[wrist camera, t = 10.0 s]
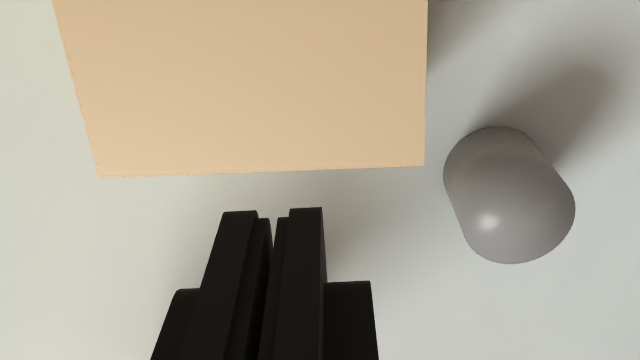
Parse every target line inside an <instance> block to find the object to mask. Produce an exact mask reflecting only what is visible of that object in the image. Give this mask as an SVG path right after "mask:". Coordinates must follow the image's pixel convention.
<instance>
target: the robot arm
mask: <svg viewBox="0 0 640 360" xmlns="http://www.w3.org/2000/svg"><path fill="white" fill-rule="evenodd" d="M150 360H379V357H378V348H377V339H376V329H375V320H374V311H373V301H372V292H371V284H370V281H351V282H328V283H327V271H326V257H325V242H324V228H323V215H322V207H313V208H293V209H290V212H289V217H279V218H278V220H277V227H276V234H275V241H274V248H273V242H272V234H271V226H270V220H269V218H258V213H257V211H256V210H252V211H232V212H224V213H223V215H222V218H221V221H220V225H219V228H218V231H217V234H216V238H215V241H214V244H213V247H212V251H211V254H210V257H209V260H208V264H207V267H206V270H205V273H204V277H203V280H202V283H201V286H200V288H193V289H179V290H177V291H176V293H175V295H174V296H173V299H172V302H171V304H170V307H169V310H168V312H167V315H166V318H165V321H164V323H163V326H162V329H161V332H160V334H159V337H158V340H157V343H156V345H155V348H154V351H153V354H152V356H151V359H150Z"/></svg>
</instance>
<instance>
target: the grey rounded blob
mask: <svg viewBox="0 0 640 360" xmlns="http://www.w3.org/2000/svg"><path fill="white" fill-rule="evenodd" d="M443 181H444V185H445V188H446V191H447V193H448V196H449V199H450V201H451V204H452V206H453V209H454V211H455V214H456V216H457V219H458V221H459V224H460V226H461V229H462V232H463V234H464V237H465V239H466V241H467V243H468V244H469V246H470V247H471V248H472V249H473V250H474V251H475V252H476V253H477V254H478V255H480V256H481V257H483V258H485V259H487V260H490V261H493V262H496V263H502V264H518V263H524V262H529V261H532V260H535V259H537V258H539V257H542V256H543V255H545V254H547V253H549V252H550V251H551V250H553V249H554V248H555V247H556V246H558V245H559V244H560V243H561V242H562V240H563V239H564V238H565V237H566V235H567V234H568V232H569V230H570V229H571V226H572V224H573V221H574V217H575V201H574V197H573V195H572V192H571V190H570V189H569V187H568V186H567V184H566V183H565V182H564V181H563V179H562V178H561V177H560V176H559V174H558V173H557V172H556V171H555V169H554V168H553V167H552V165H551V164H550V163H549V162H548V160H547V159H546V158H545V157H544V155H543V154H542V153H541V151H540V150H539V149H538V148H537V146H536V145H535V144H534V143H533V141H532V140H531V139H530V138H529V137H528V136H526V135H525V134H523V133H522V132H520V131H518V130H515V129H512V128H508V127H488V128H484V129H480V130H478V131H475V132H473V133H471V134H469V135H468V136H466V137H465V138H463V139H462V140H461V141H460V142H458V144H457V145H456V146H455V147H454V148H453V149H452V151H451V152H450V154H449V155H448V157H447V160H446V162H445V165H444V171H443Z"/></svg>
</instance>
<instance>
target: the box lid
mask: <svg viewBox="0 0 640 360" xmlns="http://www.w3.org/2000/svg"><path fill="white" fill-rule="evenodd" d="M51 1H52V4H53V8H54V12H55V16H56V19H57V23H58V27H59V31H60V34H61V38H62V42H63V46H64V49H65V53H66V57H67V61H68V64H69V68H70V72H71V76H72V79H73V83H74V87H75V91H76V94H77V98H78V102H79V105H80V109H81V113H82V117H83V120H84V124H85V128H86V132H87V135H88V139H89V143H90V147H91V150H92V154H93V158H94V162H95V165H96V169H97V173H98V177H99V178H119V177H146V176H172V175H198V174H224V173H250V172H277V171H303V170H329V169H355V168H382V167H408V166H424V157H425V110H426V64H427V17H428V0H51Z"/></svg>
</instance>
